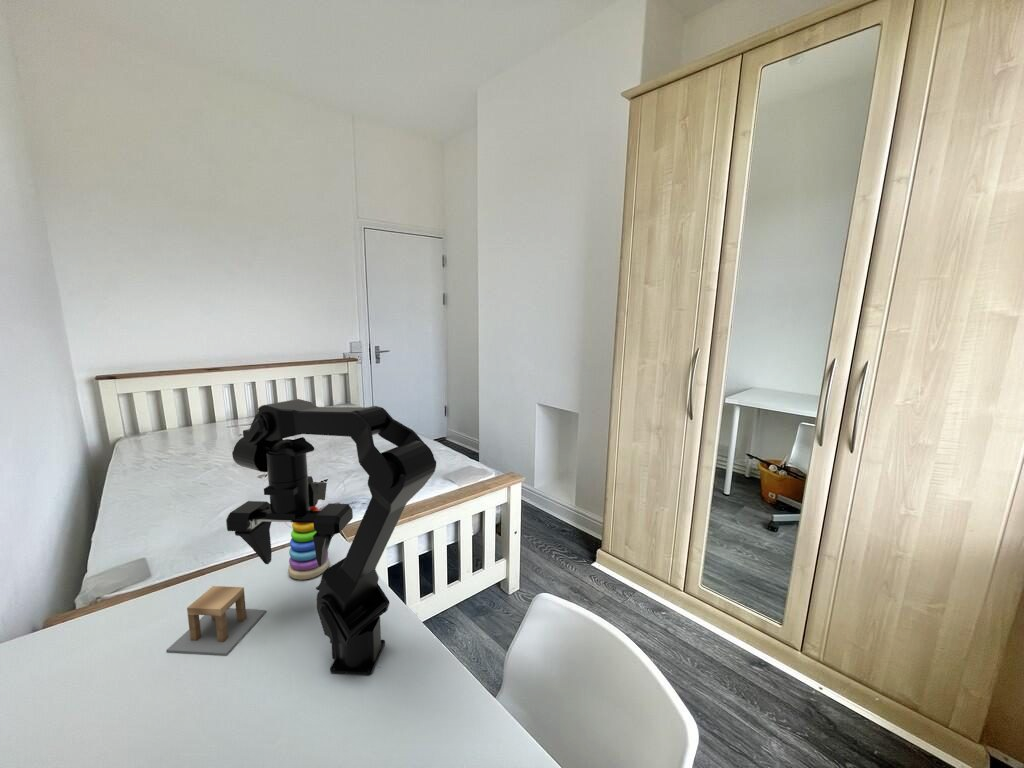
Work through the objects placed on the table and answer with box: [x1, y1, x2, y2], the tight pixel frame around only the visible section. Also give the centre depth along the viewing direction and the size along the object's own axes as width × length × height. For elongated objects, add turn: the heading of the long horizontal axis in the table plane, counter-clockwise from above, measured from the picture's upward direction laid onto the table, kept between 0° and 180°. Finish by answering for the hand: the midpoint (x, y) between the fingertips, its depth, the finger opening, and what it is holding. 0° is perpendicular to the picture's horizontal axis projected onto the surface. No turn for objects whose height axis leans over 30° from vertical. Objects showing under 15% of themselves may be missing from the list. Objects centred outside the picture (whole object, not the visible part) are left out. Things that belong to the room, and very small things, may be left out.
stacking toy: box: [287, 500, 330, 581], centre depth 87 cm, size 8×8×19 cm
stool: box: [186, 585, 247, 642], centre depth 71 cm, size 6×6×6 cm
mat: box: [165, 607, 267, 657], centre depth 71 cm, size 10×10×1 cm
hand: (294, 563), depth 71 cm, fingers open, 9 cm apart
